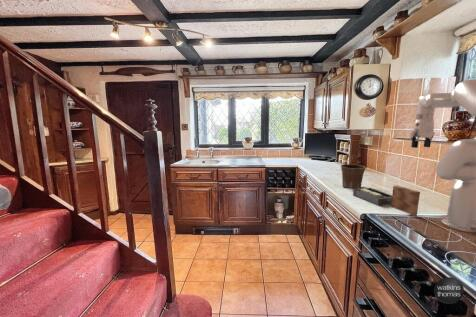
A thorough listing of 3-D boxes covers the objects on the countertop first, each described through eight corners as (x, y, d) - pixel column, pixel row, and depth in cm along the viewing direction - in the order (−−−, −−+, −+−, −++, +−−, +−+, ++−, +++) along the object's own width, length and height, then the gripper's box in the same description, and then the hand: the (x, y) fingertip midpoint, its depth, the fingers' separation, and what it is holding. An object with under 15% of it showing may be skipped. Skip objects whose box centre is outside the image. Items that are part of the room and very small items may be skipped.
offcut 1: (371, 199, 137) (372, 191, 136) (366, 199, 136) (367, 191, 135) (364, 196, 142) (364, 188, 141) (359, 196, 141) (360, 189, 140)
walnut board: (416, 216, 115) (420, 191, 113) (412, 216, 114) (415, 192, 112) (395, 207, 126) (397, 185, 124) (390, 208, 125) (393, 185, 123)
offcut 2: (380, 202, 131) (381, 194, 130) (375, 203, 130) (376, 195, 129) (372, 199, 136) (373, 191, 135) (368, 200, 135) (369, 192, 134)
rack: (395, 204, 130) (396, 196, 129) (377, 207, 126) (378, 198, 126) (369, 195, 147) (370, 187, 147) (352, 196, 144) (353, 189, 143)
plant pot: (340, 189, 159) (342, 167, 157) (337, 183, 175) (339, 163, 172) (366, 191, 155) (368, 169, 152) (360, 185, 170) (362, 164, 167)
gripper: (420, 117, 121) (416, 148, 124) (443, 117, 125) (438, 147, 128) (406, 117, 128) (403, 147, 131) (428, 117, 133) (424, 146, 135)
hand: (420, 147), depth 130 cm, fingers open, 9 cm apart
